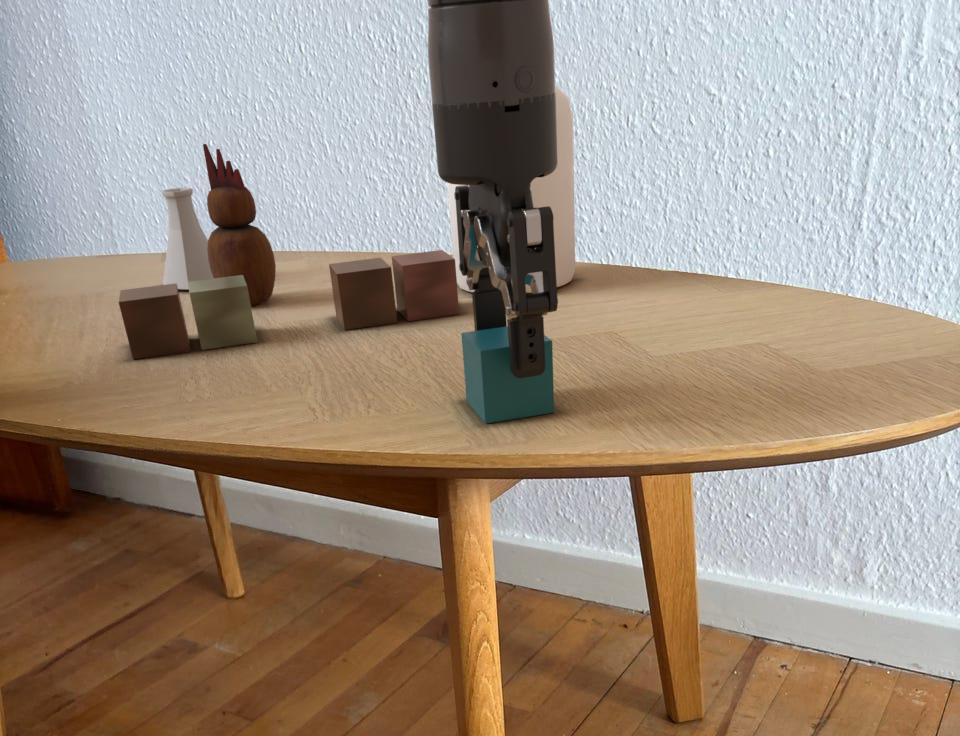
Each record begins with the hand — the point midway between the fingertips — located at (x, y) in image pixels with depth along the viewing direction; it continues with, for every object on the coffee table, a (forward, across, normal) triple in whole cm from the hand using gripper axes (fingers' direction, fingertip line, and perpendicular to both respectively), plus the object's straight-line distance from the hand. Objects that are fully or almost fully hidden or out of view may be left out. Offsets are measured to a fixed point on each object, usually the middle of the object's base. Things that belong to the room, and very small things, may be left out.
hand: (509, 358), depth 69 cm
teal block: (+4, 0, 0) cm, 4 cm away
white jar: (+4, -37, +12) cm, 39 cm away
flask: (+3, -57, -20) cm, 61 cm away
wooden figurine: (+3, -44, -15) cm, 47 cm away
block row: (+3, -30, -12) cm, 32 cm away
